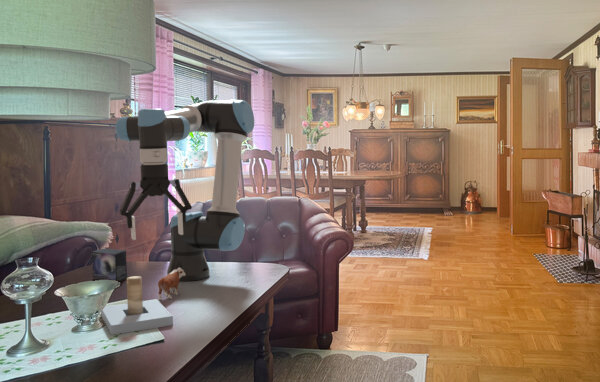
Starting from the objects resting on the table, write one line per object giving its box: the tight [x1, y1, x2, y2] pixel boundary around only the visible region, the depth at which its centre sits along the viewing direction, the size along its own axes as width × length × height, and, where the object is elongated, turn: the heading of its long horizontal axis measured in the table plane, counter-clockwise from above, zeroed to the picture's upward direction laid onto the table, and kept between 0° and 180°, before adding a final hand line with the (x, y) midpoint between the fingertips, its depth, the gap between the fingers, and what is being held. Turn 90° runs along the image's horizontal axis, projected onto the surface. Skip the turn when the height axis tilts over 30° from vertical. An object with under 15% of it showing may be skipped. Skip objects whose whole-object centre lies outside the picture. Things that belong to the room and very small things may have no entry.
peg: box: [126, 275, 144, 316], centre depth 158 cm, size 4×4×12 cm
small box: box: [91, 247, 128, 282], centre depth 203 cm, size 11×6×10 cm, turn 68°
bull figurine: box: [157, 268, 186, 301], centre depth 182 cm, size 4×13×8 cm, turn 161°
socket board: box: [100, 298, 174, 336], centre depth 158 cm, size 18×16×2 cm
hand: (157, 236), depth 165 cm, fingers open, 13 cm apart
